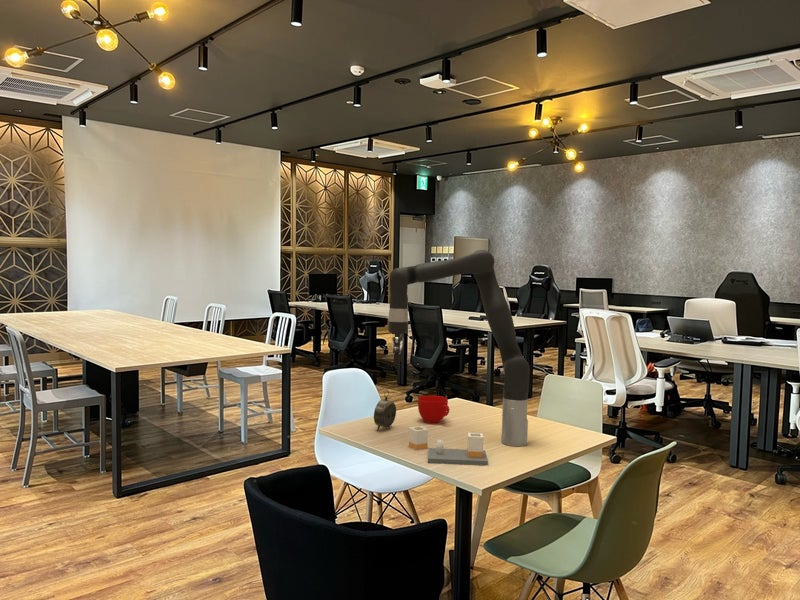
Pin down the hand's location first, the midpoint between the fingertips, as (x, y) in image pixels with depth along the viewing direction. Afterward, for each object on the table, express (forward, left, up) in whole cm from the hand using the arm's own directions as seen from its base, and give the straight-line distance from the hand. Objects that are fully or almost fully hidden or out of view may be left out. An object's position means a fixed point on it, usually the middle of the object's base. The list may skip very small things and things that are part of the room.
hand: (397, 362), depth 225 cm
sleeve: (-9, +11, -29) cm, 33 cm away
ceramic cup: (-15, -26, -30) cm, 42 cm away
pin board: (-23, +22, -29) cm, 43 cm away
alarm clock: (+5, -12, -30) cm, 32 cm away
